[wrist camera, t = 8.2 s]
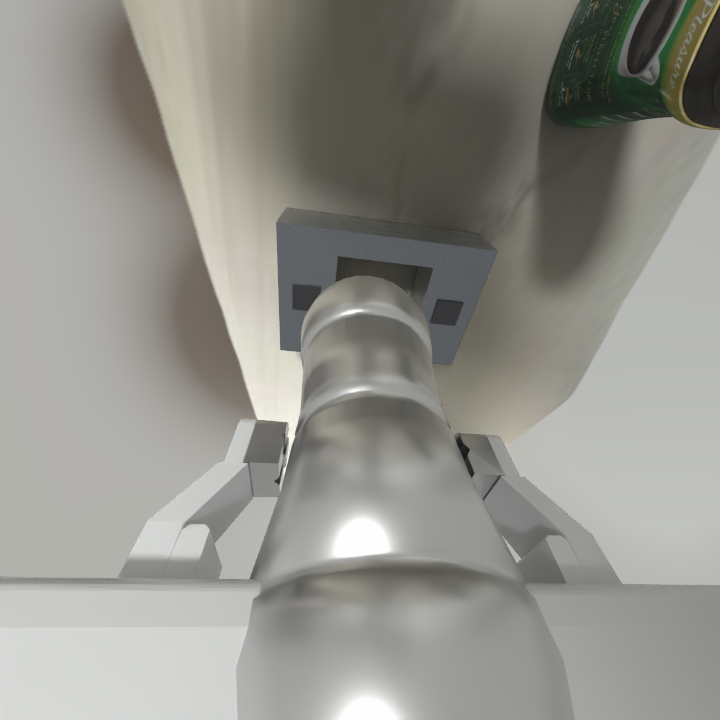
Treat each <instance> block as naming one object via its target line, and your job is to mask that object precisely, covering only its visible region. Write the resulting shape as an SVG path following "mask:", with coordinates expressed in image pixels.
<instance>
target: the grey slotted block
mask: <svg viewBox="0 0 720 720" xmlns="http://www.w3.org/2000/svg"><path fill="white" fill-rule="evenodd" d="M276 227H277V257H278V288H279V319H280V350H286V351H297V352H301V328H302V325H303V321H304V318H305V316H306V314H307V312H308V311H309V309H310V307H311V306H312V304H313V303H314V301H315V300H316V298H317V297H318V296H319V295H320V294H321V293H322V292H323V290H325V289H326V288H327V287H329V286H330V285H332V284H333V283H335V282H336V271H337V260H338V256H340V257H349V258H357V259H365V260H373V261H381V262H390V263H398V264H406V265H414V266H418V268H417V272H416V276H415V280H414V284H413V288H412V292H411V296H410V297H411V298H412V299H413V300H414V301H415V302H416V304H417V305H418V306H419V308H420V309H421V311H422V312H423V314H424V315H425V318H426V321H427V323H428V327H429V333H430V339H431V347H432V363H434V364H445V365H451V364H452V361H453V359H454V356H455V354H456V351H457V349H458V346H459V344H460V342H461V339H462V337H463V334H464V332H465V329H466V327H467V325H468V322H469V320H470V317H471V315H472V312H473V310H474V307H475V305H476V303H477V300H478V298H479V295H480V293H481V290H482V288H483V285H484V283H485V281H486V278H487V276H488V273H489V271H490V268H491V266H492V263H493V261H494V259H495V256H496V254H497V250H496V249H495V248H493V247H492V246H491V245H490V244H489V243H488V242H487V241H486V240H484V239H483V238H482V237H481V236H480V235H479V234H477V233H469V232H462V231H455V230H447V229H440V228H433V227H426V226H418V225H411V224H404V223H396V222H389V221H382V220H374V219H367V218H360V217H352V216H345V215H338V214H331V213H323V212H316V211H309V210H301V209H294V208H287V207H286V209H285V210H284V212H283V213H282V215H281V216H280V218H279V219H278V220H277V222H276Z"/></svg>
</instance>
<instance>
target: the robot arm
mask: <svg viewBox="0 0 720 720" xmlns="http://www.w3.org/2000/svg"><path fill="white" fill-rule="evenodd" d="M288 430H289V427H288V423H287V422H276V421H265V420H252V419H241V420H240V422H239V424H238V426H237V429H236V432H235V434H234V438H233V439H232V442H231V445H230V448H229V450H228V453H227V455H226V458H225V461H224V462H218V463H217V464H216V465H214V466H213V467H212V468H211V469H210V470H208V471H207V472H206V473H205V474H204V475H202V476H201V477H200V478H199V479H198V480H196V481H195V482H194V483H193V484H191V485H190V486H189V487H188V488H187V489H185V490H184V491H183V492H182V493H181V494H179V495H178V496H177V497H176V498H175V499H173V500H172V501H171V502H170V503H168V504H167V505H166V506H165V507H164V508H162V509H161V510H160V511H159V512H158V513H156V514H155V515H154V516H153V517H151V518H150V519H149V520H148V521H147V523H146V524H145V526H144V529H143V530H142V532H141V534H140V536H139V538H138V540H137V542H136V544H135V546H134V548H133V550H132V551H131V553H130V555H129V557H128V559H127V561H126V563H125V565H124V567H123V569H122V571H121V572H120V574H119V576H118V578H91V577H89V578H88V577H7V576H5V577H4V576H0V720H238V719H237V685H236V666H237V663H238V660H239V656H240V653H241V650H242V646H243V643H244V640H245V636H246V633H247V629H248V625H249V619H250V613H251V608H252V602H253V599H254V598H256V597H258V596H259V594H260V589H261V584H260V581H256V580H253V579H248V580H247V579H246V580H245V579H219V576H220V572H221V569H222V565H221V562H220V560H219V556H218V553H217V550H216V547H215V542H216V541H217V540H218V539H219V538H220V536H221V535H222V534H223V533H224V532H225V531H226V529H227V528H228V527H229V526H230V525H231V523H232V522H233V521H234V520H235V519H236V518H237V517H238V515H239V514H240V513H241V512H242V511H243V509H244V508H245V507H246V506H247V505H248V503H249V502H250V501H251V500H252V499H253V497H279V494H280V491H281V488H282V483H283V468H284V467H285V466H286V462H287V455H288V445H289V438H288V437H287V435H288ZM454 438H455V440H456V442H457V445H458V447H459V450H460V452H461V455H462V457H463V459H464V462H465V464H466V467H467V469H468V472H469V474H470V476H471V478H472V480H473V482H474V484H475V485H476V487H477V489H478V491H479V493H480V495H481V497H482V499H483V501H484V503H485V505H486V506H487V508H488V510H489V512H490V514H491V516H492V518H493V520H494V522H495V524H496V525H497V527H498V529H499V531H500V533H501V534H502V536H503V537H504V538H505V539H506V541H507V542H508V543H509V544H510V545H511V546H512V548H513V549H514V550H515V552H516V553H517V554H518V555H519V556H520V557H521V560H520V561H519V562H518V563H517V565H518V567H519V569H520V571H521V573H522V575H523V577H524V579H525V582H526V584H524V586H525V588H526V589H527V591H528V592H529V593H530V594H531V595H532V596H534V597H535V599H536V601H537V604H538V606H539V608H540V610H541V612H542V615H543V617H544V619H545V621H546V624H547V626H548V628H549V630H550V632H551V635H552V637H553V639H554V641H555V643H556V645H557V647H558V649H559V652H560V654H561V656H562V658H563V660H564V664H565V669H566V674H567V680H568V685H569V690H570V695H571V701H572V706H573V711H574V716H575V720H720V585H647V584H645V585H644V584H622V583H621V581H620V580H619V578H618V576H617V575H616V573H615V571H614V570H613V568H612V566H611V565H610V563H609V561H608V560H607V558H606V557H605V555H604V553H603V551H602V550H601V548H600V547H599V545H598V543H597V542H596V540H595V538H594V537H593V535H592V534H591V533H589V532H588V531H587V530H586V529H585V528H583V527H582V526H581V525H580V524H579V523H578V522H576V521H575V520H574V519H573V518H572V517H570V516H569V515H568V514H567V513H566V512H565V511H564V510H562V509H561V508H560V507H559V506H558V505H557V504H555V503H554V502H553V501H552V500H551V499H550V498H548V497H547V496H546V495H545V494H543V493H542V492H541V491H540V490H539V489H538V488H537V487H535V486H534V485H533V484H532V483H531V482H530V481H528V480H527V479H526V478H525V477H520V475H519V473H518V471H517V469H516V467H515V465H514V463H513V461H512V459H511V457H510V455H509V453H508V451H507V449H506V447H505V445H504V443H503V441H502V439H501V438H500V437H499V436H493V435H481V434H462V433H456V434H455V435H454Z"/></svg>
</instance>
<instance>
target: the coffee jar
mask: <svg viewBox="0 0 720 720" xmlns="http://www.w3.org/2000/svg"><path fill="white" fill-rule="evenodd" d="M547 106H548V111H549V114H550V116H551V118H552V119H553V120H554V121H555V122H556V123H558V124H560V125H563V126H567V127H575V128H595V127H604V126H610V125H616V124H622V123H627V122H632V121H638V120H644V119H651V118H662V117H674V118H675V119H677V120H678V121H680V122H682V123H684V124H686V125H689V126H692V127H697V128H703V129H713V130H720V0H580V2H579V4H578V6H577V8H576V10H575V12H574V14H573V17H572V19H571V22H570V24H569V27H568V29H567V32H566V34H565V37H564V39H563V42H562V45H561V48H560V51H559V54H558V58H557V61H556V64H555V68H554V71H553V75H552V79H551V83H550V87H549V92H548V99H547Z"/></svg>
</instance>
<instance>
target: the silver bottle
mask: <svg viewBox="0 0 720 720" xmlns="http://www.w3.org/2000/svg"><path fill="white" fill-rule="evenodd" d="M301 358H302V365H303V382H302V397H301V411H300V416H299V420H298V424H297V428H296V432H295V439H294V442H293V444H292V448H291V452H290V456H289V460H288V464H287V468H286V472H285V476H284V480H283V484H282V488H281V491H280V494H279V497H278V500H277V503H276V506H275V508H274V511H273V514H272V517H271V520H270V523H269V525H268V528H267V531H266V534H265V537H264V540H263V543H262V545H261V548H260V551H259V554H258V557H257V560H256V563H255V565H254V568H253V571H252V574H251V577H250V579H253V580H256V581H260V584H261V589H260V594H259V596H258V597H256V598H254V599H253V602H252V608H251V613H250V619H249V625H248V629H247V633H246V636H245V640H244V643H243V646H242V650H241V653H240V656H239V660H238V663H237V666H236V685H237V719H238V720H575V716H574V711H573V706H572V701H571V695H570V690H569V685H568V680H567V674H566V669H565V664H564V660H563V658H562V656H561V654H560V652H559V649H558V647H557V645H556V643H555V641H554V639H553V637H552V635H551V632H550V630H549V628H548V626H547V624H546V621H545V619H544V617H543V615H542V612H541V610H540V608H539V606H538V604H537V601H536V599H535V597H534V596H532V595H531V594H530V593H529V592H528V591H527V589H526V588H525V586H524V584H526V582H525V579H524V577H523V575H522V573H521V571H520V569H519V567H518V565H517V563H516V562H515V560H514V558H513V556H512V554H511V553H510V550H509V548H508V547H507V544H506V543H505V541H504V539H503V537H502V535H501V533H500V531H499V529H498V527H497V525H496V524H495V522H494V520H493V518H492V516H491V514H490V512H489V510H488V508H487V506H486V505H485V503H484V501H483V499H482V497H481V495H480V493H479V491H478V489H477V487H476V485H475V484H474V482H473V480H472V478H471V476H470V474H469V472H468V469H467V467H466V464H465V462H464V459H463V457H462V455H461V452H460V450H459V447H458V445H457V442H456V440H455V438H454V435H453V433H452V431H451V429H450V425H449V423H448V421H447V418H446V416H445V413H444V411H443V409H442V405H441V401H440V396H439V392H438V387H437V383H436V379H435V374H434V370H433V365H432V347H431V339H430V333H429V327H428V323H427V321H426V318H425V315H424V314H423V312H422V311H421V309H420V308H419V306H418V305H417V304H416V302H415V301H414V300H413V299H412V298H411V297H410V296H409V295H408V294H407V293H406V292H405V291H404V290H403V289H402V288H401V287H399V286H397V285H396V284H394V283H393V282H391V281H388V280H385V279H383V278H379V277H373V276H353V277H349V278H344V279H342V280H340V281H337V282H335V283H333V284H332V285H330V286H329V287H327V288H326V289H325V290H323V292H322V293H321V294H320V295H319V296H318V297H317V298H316V300H315V301H314V303H313V304H312V306H311V307H310V309H309V311H308V312H307V314H306V316H305V318H304V321H303V325H302V328H301Z"/></svg>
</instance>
